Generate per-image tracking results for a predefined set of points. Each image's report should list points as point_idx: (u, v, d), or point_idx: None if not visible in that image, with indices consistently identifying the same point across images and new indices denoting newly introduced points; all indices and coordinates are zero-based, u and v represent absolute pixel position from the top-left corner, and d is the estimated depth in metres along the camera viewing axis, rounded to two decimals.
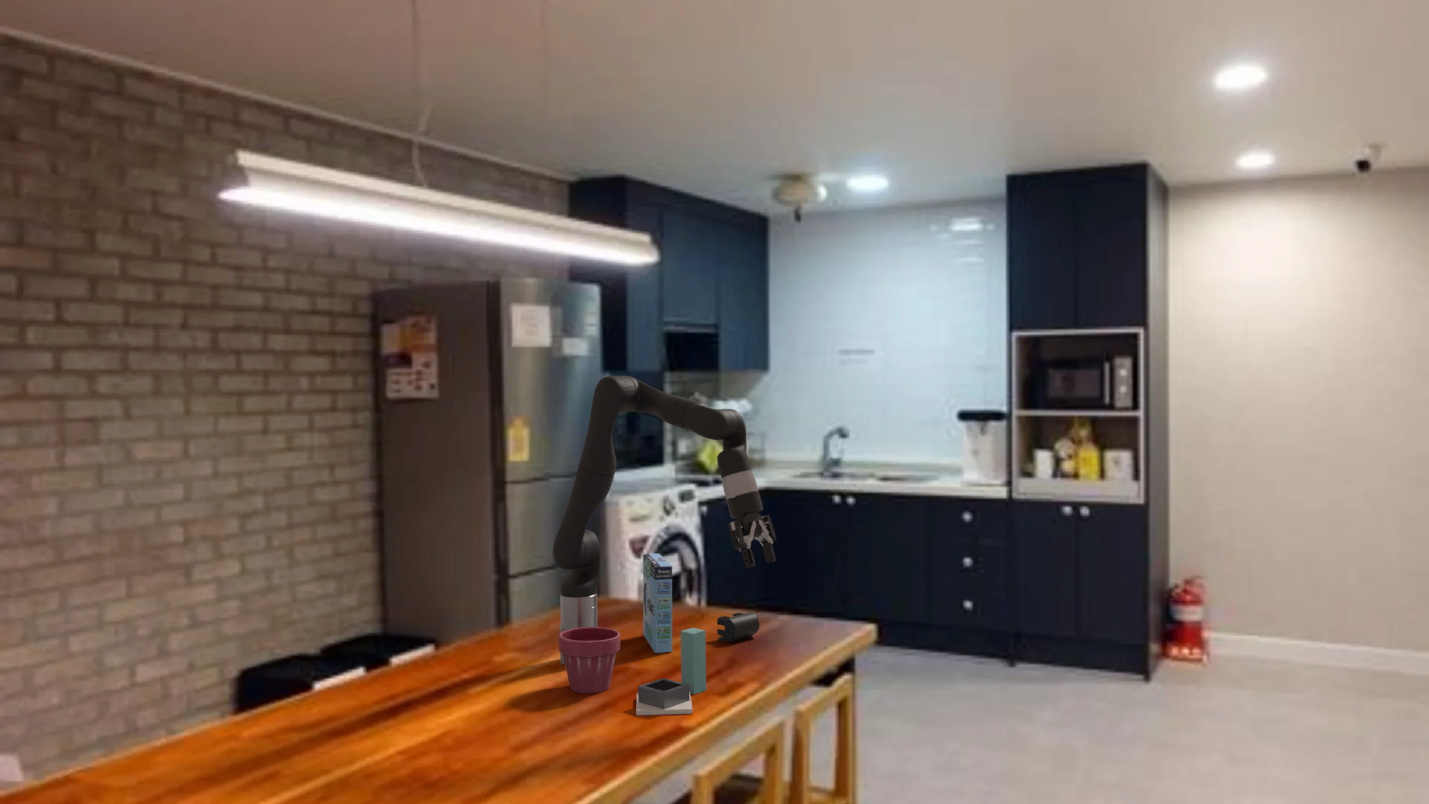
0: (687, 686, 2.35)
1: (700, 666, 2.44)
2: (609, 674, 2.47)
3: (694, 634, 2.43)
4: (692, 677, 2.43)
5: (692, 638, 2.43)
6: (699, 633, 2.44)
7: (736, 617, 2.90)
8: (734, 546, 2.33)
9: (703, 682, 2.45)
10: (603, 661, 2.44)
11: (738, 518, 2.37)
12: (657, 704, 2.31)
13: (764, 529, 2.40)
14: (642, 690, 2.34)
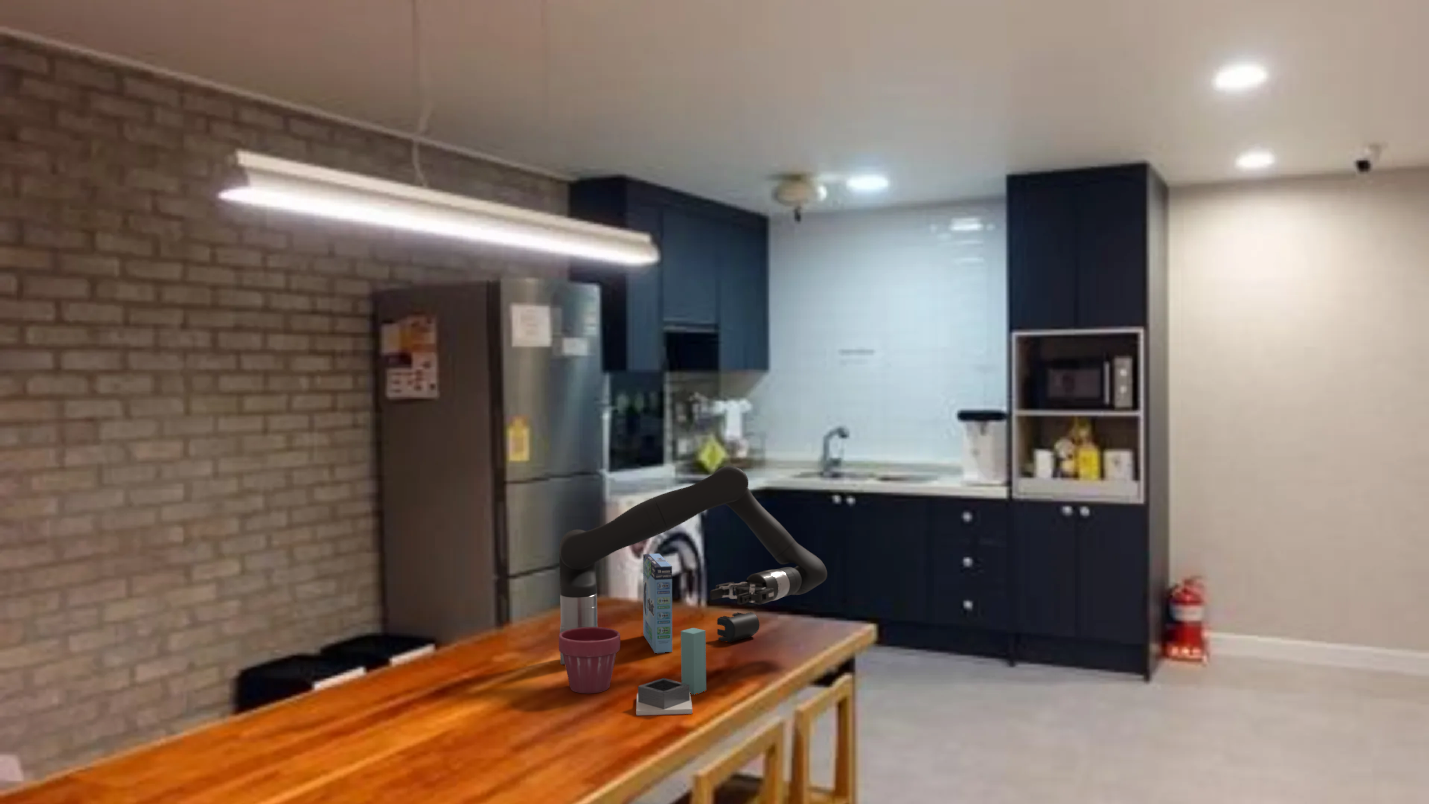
0: (687, 686, 2.35)
1: (700, 666, 2.44)
2: (609, 674, 2.47)
3: (694, 634, 2.43)
4: (692, 677, 2.43)
5: (692, 638, 2.43)
6: (699, 633, 2.44)
7: (736, 617, 2.90)
8: (761, 594, 2.52)
9: (703, 682, 2.45)
10: (603, 661, 2.44)
11: None
12: (657, 704, 2.31)
13: None
14: (642, 690, 2.34)
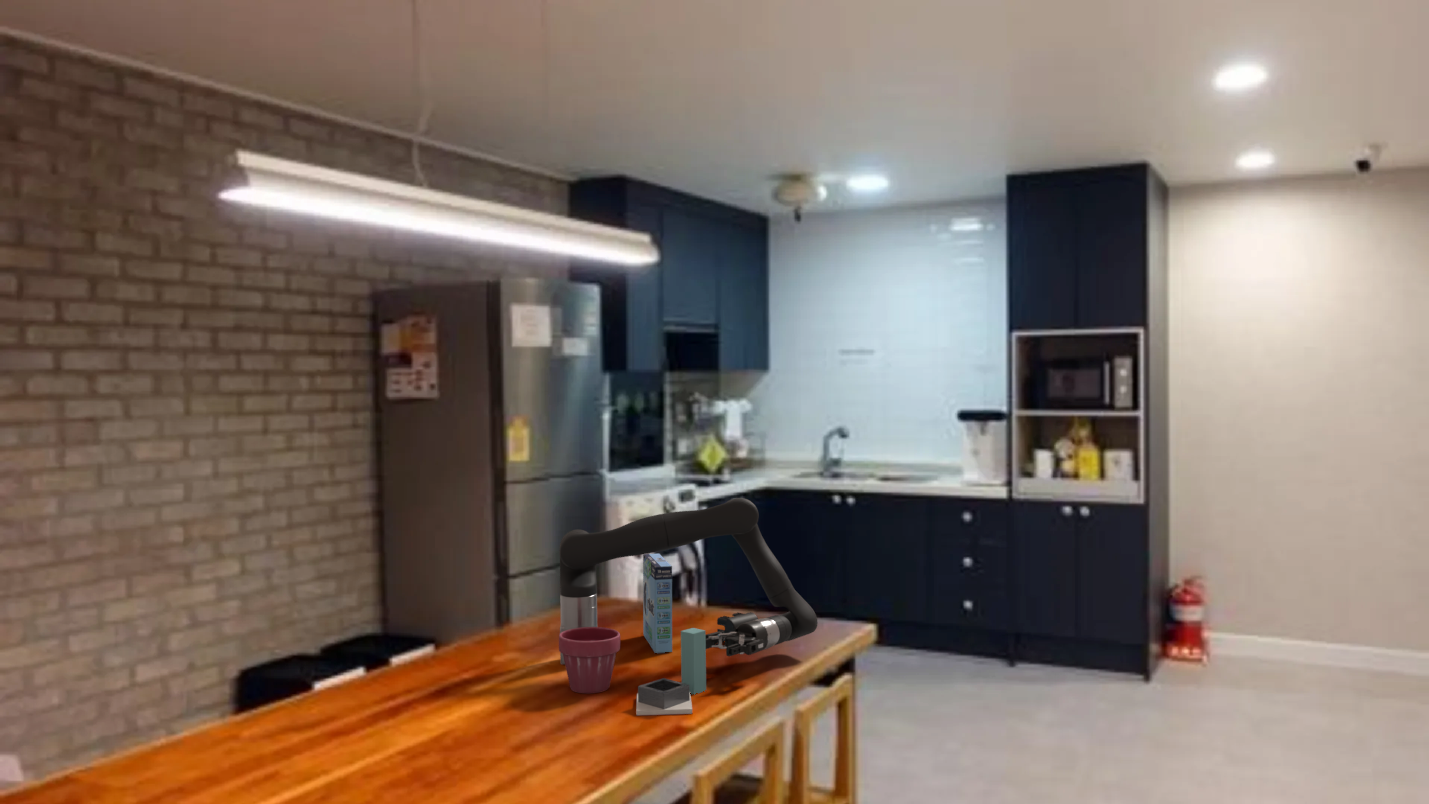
0: (687, 686, 2.35)
1: (700, 666, 2.44)
2: (609, 674, 2.47)
3: (694, 634, 2.43)
4: (692, 677, 2.43)
5: (692, 638, 2.43)
6: (699, 633, 2.44)
7: (736, 617, 2.90)
8: (750, 645, 2.50)
9: (703, 682, 2.45)
10: (603, 661, 2.44)
11: None
12: (657, 704, 2.31)
13: None
14: (642, 690, 2.34)
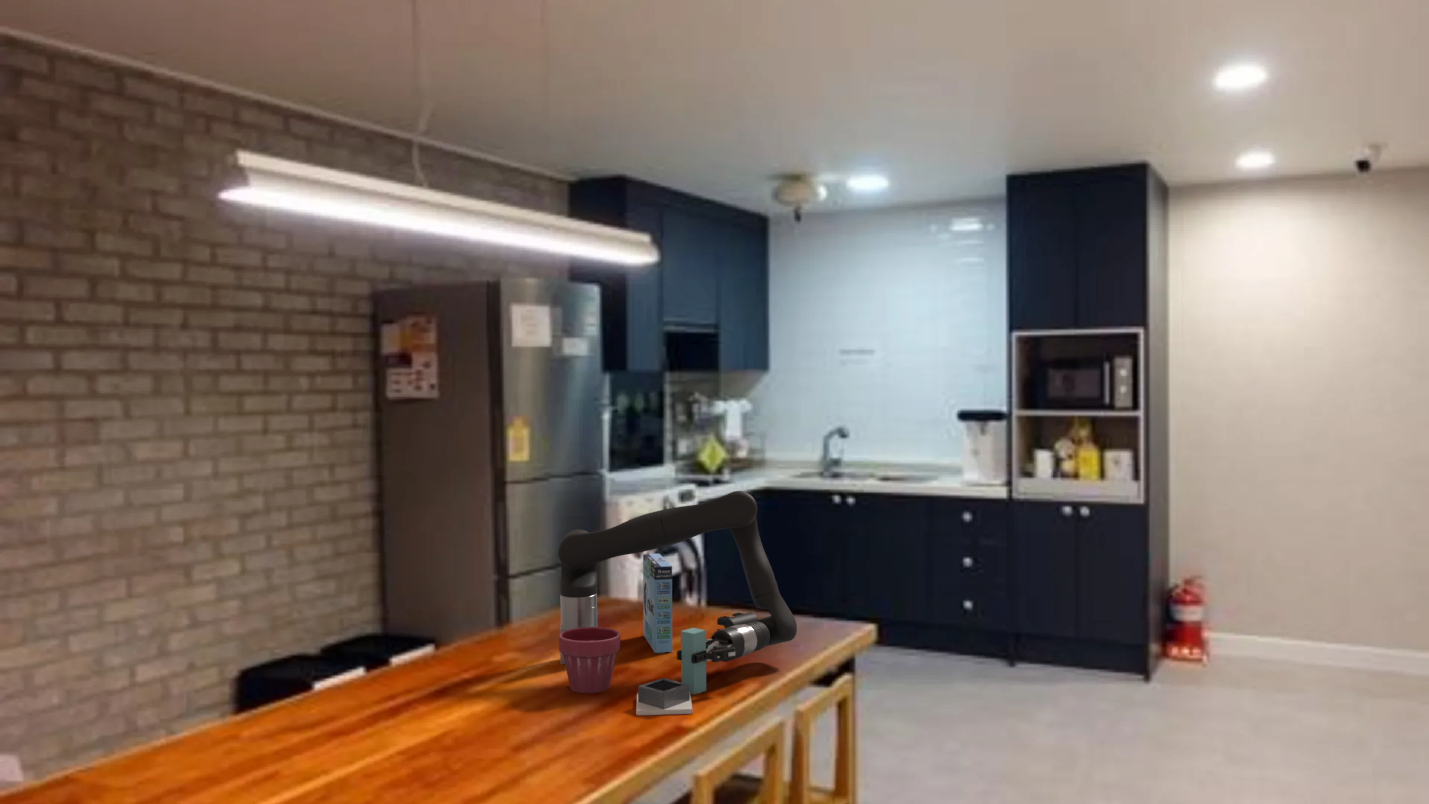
0: (687, 686, 2.35)
1: (700, 666, 2.44)
2: (609, 674, 2.47)
3: (694, 634, 2.43)
4: (692, 677, 2.43)
5: (692, 638, 2.43)
6: (699, 633, 2.44)
7: (736, 617, 2.90)
8: (715, 652, 2.44)
9: (703, 682, 2.45)
10: (603, 661, 2.44)
11: None
12: (657, 704, 2.31)
13: None
14: (642, 690, 2.34)
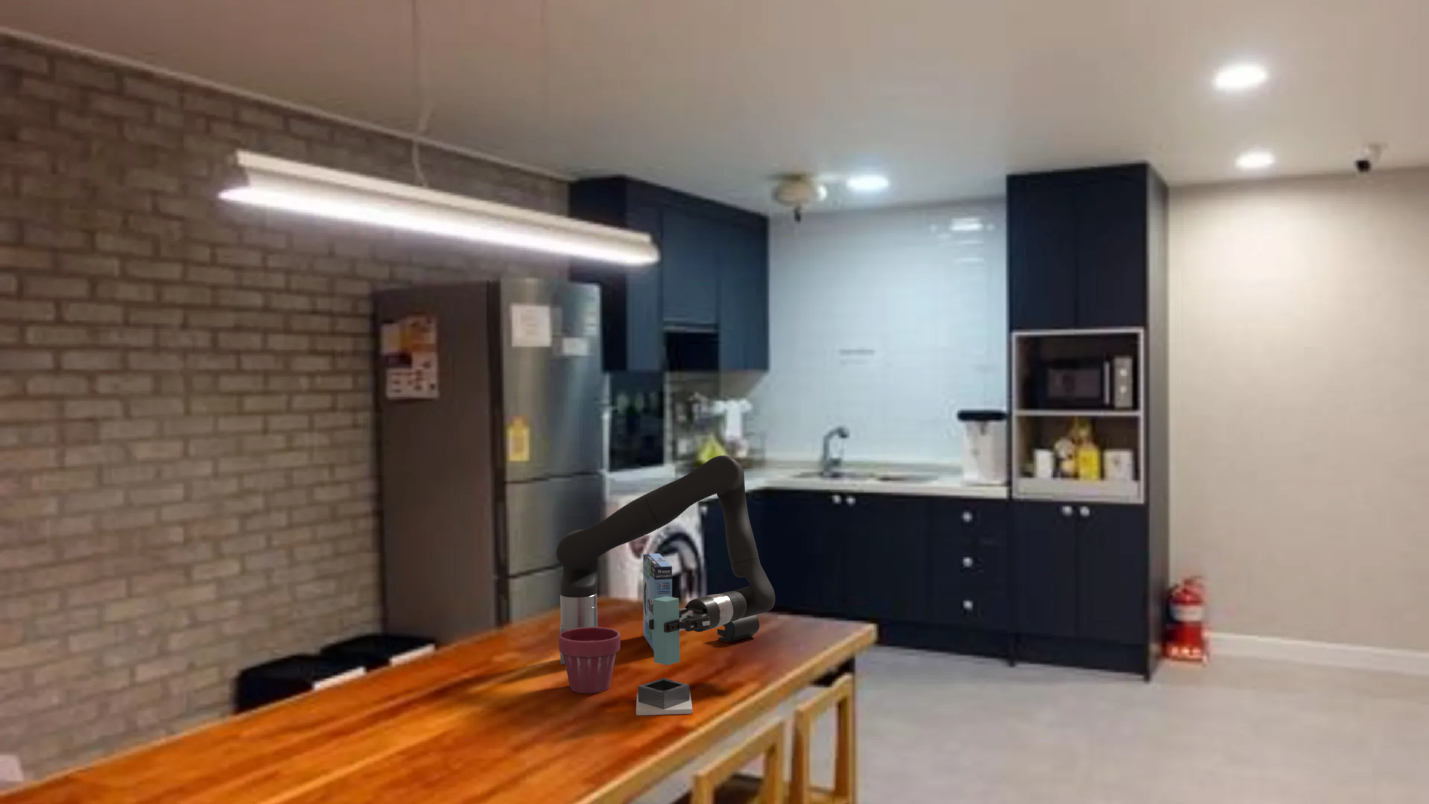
0: (687, 686, 2.35)
1: (673, 636, 2.35)
2: (609, 674, 2.47)
3: (667, 602, 2.33)
4: (665, 646, 2.33)
5: (665, 606, 2.33)
6: (672, 601, 2.34)
7: None
8: (689, 621, 2.34)
9: (676, 652, 2.36)
10: (603, 661, 2.44)
11: None
12: (657, 704, 2.31)
13: None
14: (642, 690, 2.34)
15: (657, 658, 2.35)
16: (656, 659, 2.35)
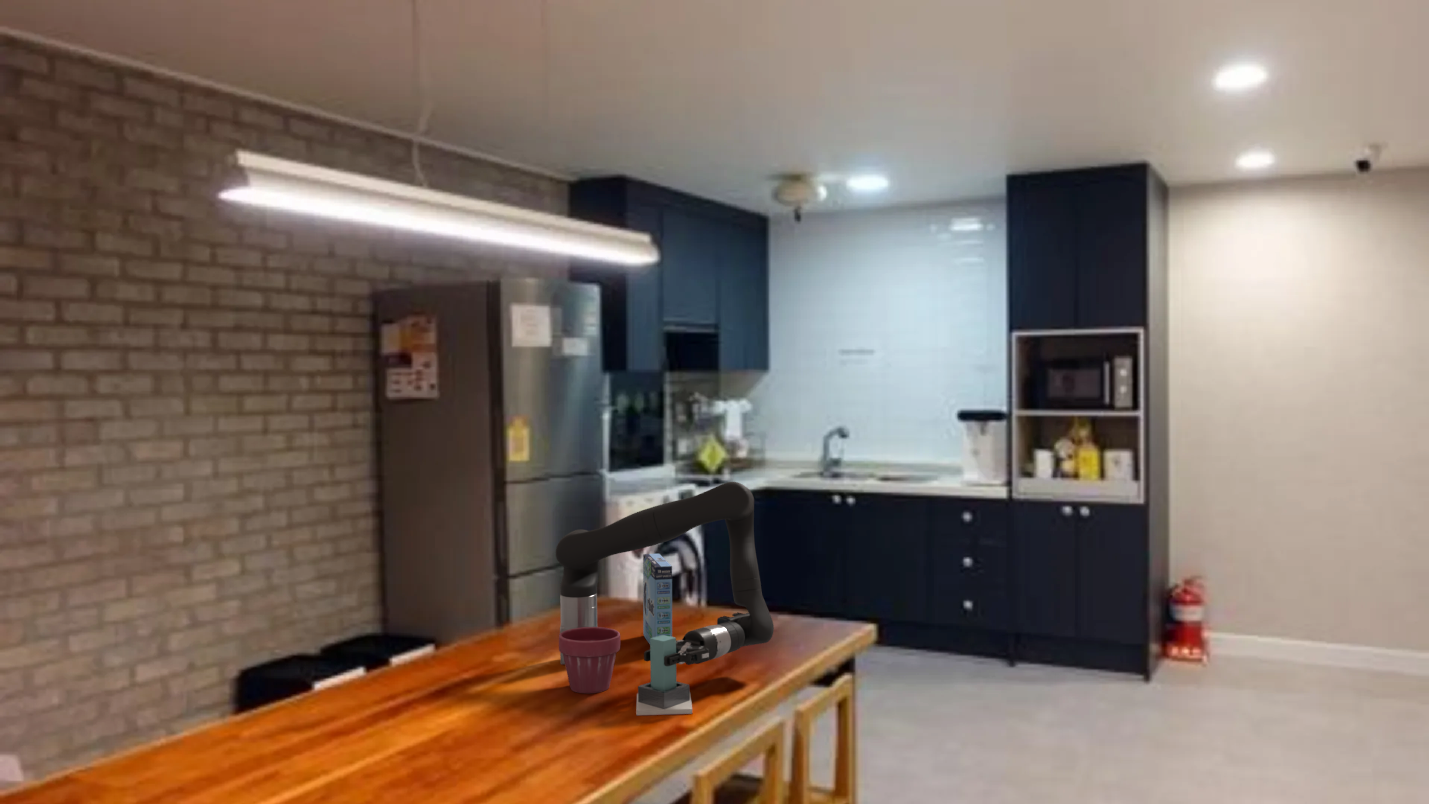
0: (687, 686, 2.35)
1: (670, 675, 2.34)
2: (609, 674, 2.47)
3: (664, 642, 2.32)
4: (662, 686, 2.33)
5: (662, 646, 2.32)
6: (669, 640, 2.34)
7: (736, 617, 2.90)
8: (690, 655, 2.33)
9: None
10: (603, 661, 2.44)
11: None
12: (657, 704, 2.31)
13: None
14: (642, 690, 2.34)
15: None
16: None
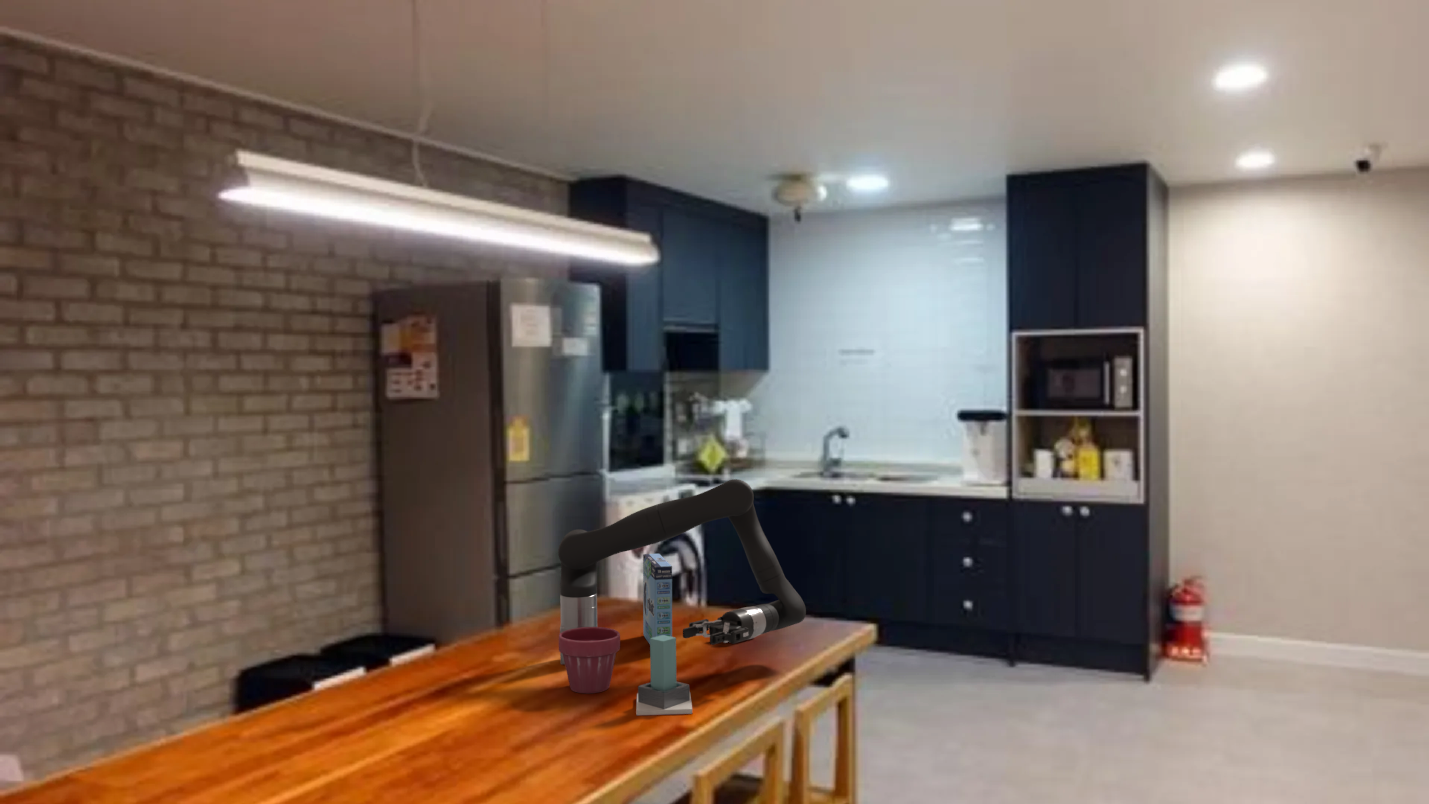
0: (687, 686, 2.35)
1: (670, 675, 2.34)
2: (609, 674, 2.47)
3: (664, 642, 2.32)
4: (662, 686, 2.33)
5: (662, 646, 2.32)
6: (669, 640, 2.34)
7: None
8: (735, 634, 2.44)
9: None
10: (603, 661, 2.44)
11: None
12: (657, 704, 2.31)
13: None
14: (642, 690, 2.34)
15: None
16: None
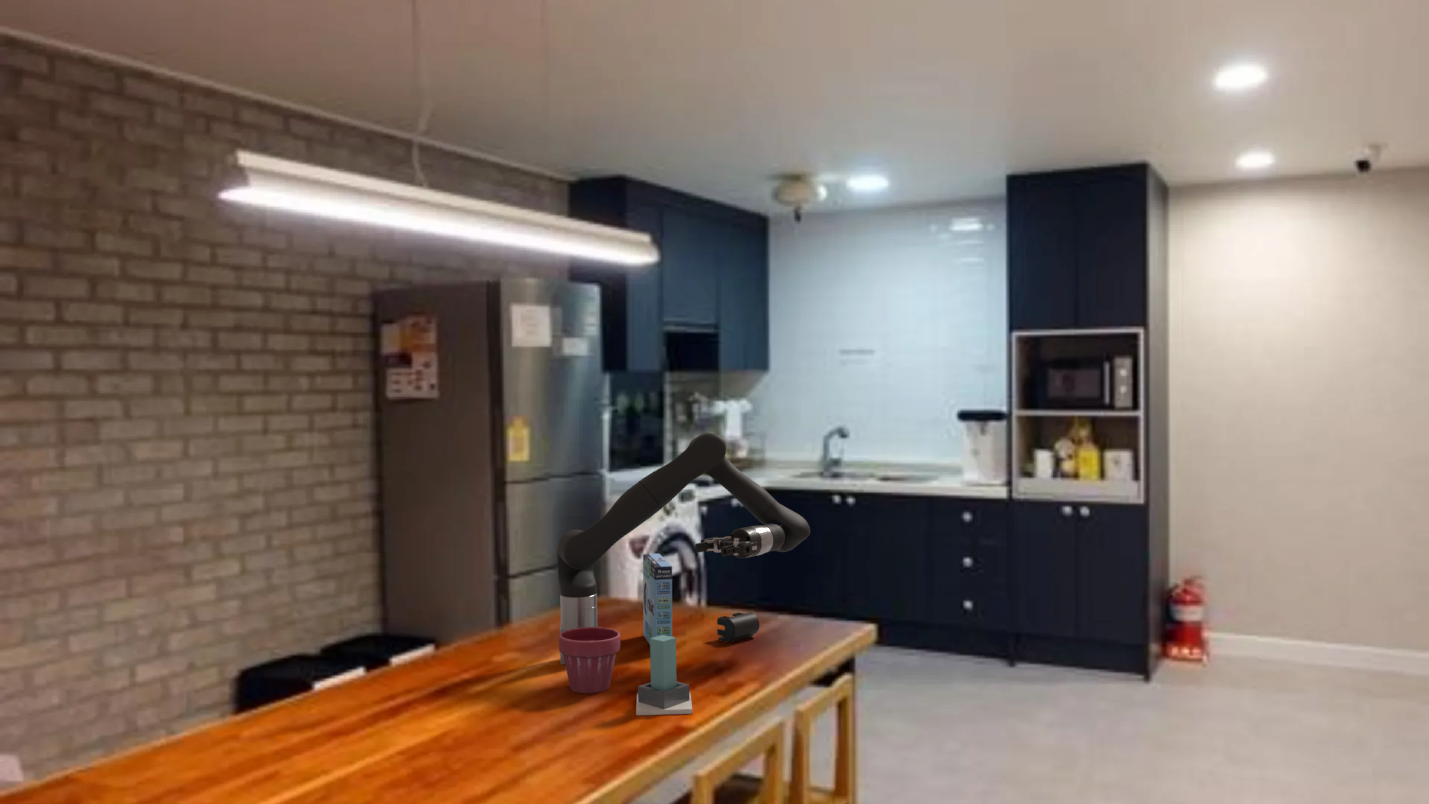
0: (687, 686, 2.35)
1: (670, 675, 2.34)
2: (609, 674, 2.47)
3: (664, 642, 2.32)
4: (662, 686, 2.33)
5: (662, 646, 2.32)
6: (669, 640, 2.34)
7: (736, 617, 2.90)
8: (744, 546, 2.59)
9: None
10: (603, 661, 2.44)
11: None
12: (657, 704, 2.31)
13: (721, 551, 2.67)
14: (642, 690, 2.34)
15: None
16: None
